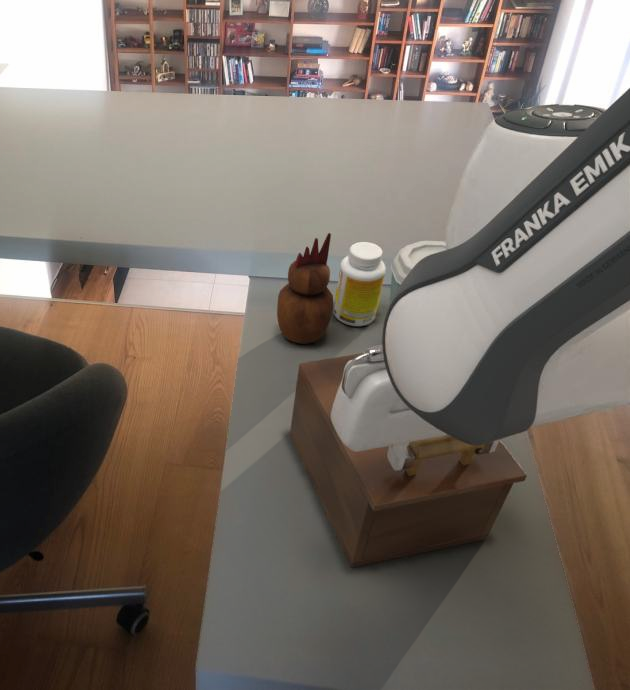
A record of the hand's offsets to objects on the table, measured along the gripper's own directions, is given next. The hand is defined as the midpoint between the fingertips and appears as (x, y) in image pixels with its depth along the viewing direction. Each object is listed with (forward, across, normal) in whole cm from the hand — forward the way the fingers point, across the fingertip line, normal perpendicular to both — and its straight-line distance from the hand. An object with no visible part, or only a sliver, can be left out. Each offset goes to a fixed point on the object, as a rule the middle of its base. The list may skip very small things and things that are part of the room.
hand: (439, 455), depth 59 cm
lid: (+2, 0, +6) cm, 6 cm away
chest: (+12, 0, +6) cm, 14 cm away
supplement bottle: (+12, +9, +33) cm, 36 cm away
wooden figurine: (+12, 0, +31) cm, 33 cm away
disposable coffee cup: (+12, +12, +23) cm, 29 cm away
